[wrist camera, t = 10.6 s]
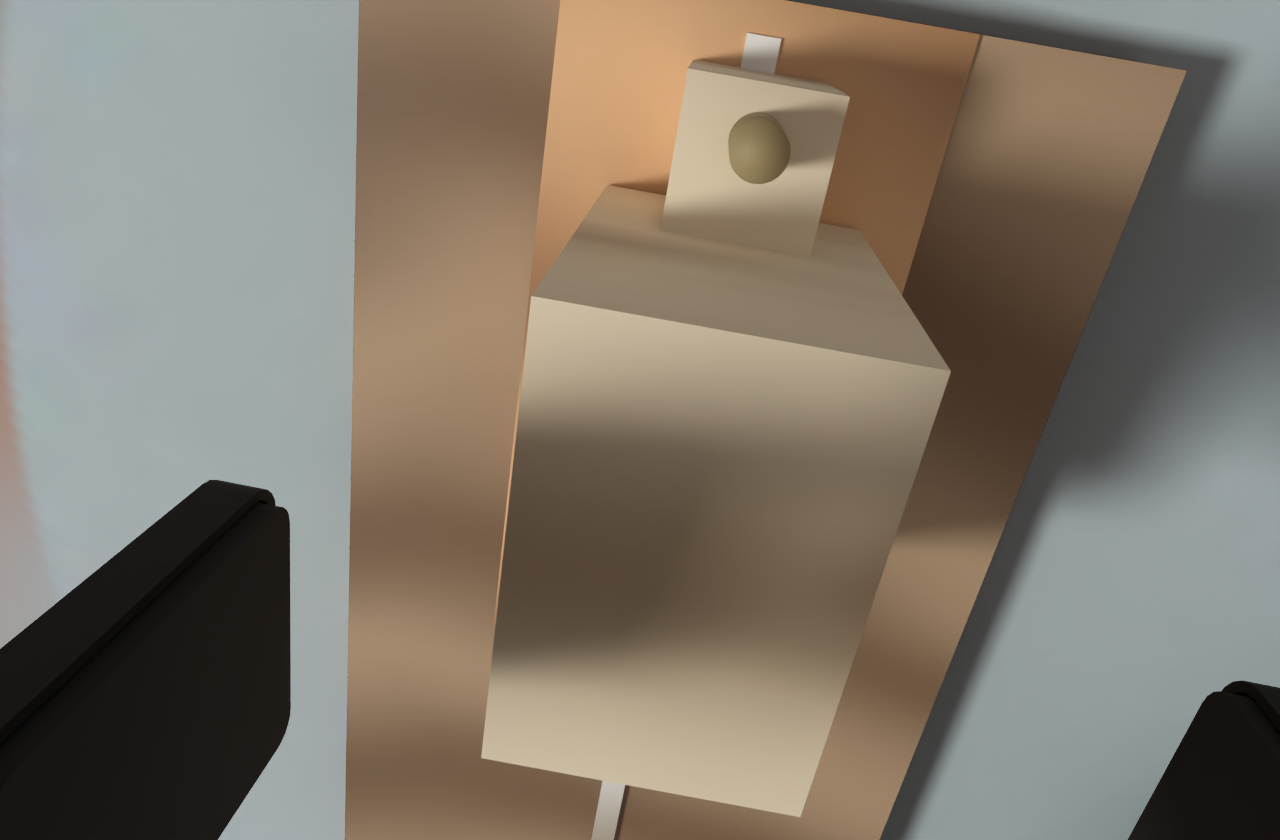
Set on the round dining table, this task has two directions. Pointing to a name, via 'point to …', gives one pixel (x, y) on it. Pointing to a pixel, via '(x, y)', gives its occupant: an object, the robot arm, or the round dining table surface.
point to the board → (641, 160)
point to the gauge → (706, 464)
